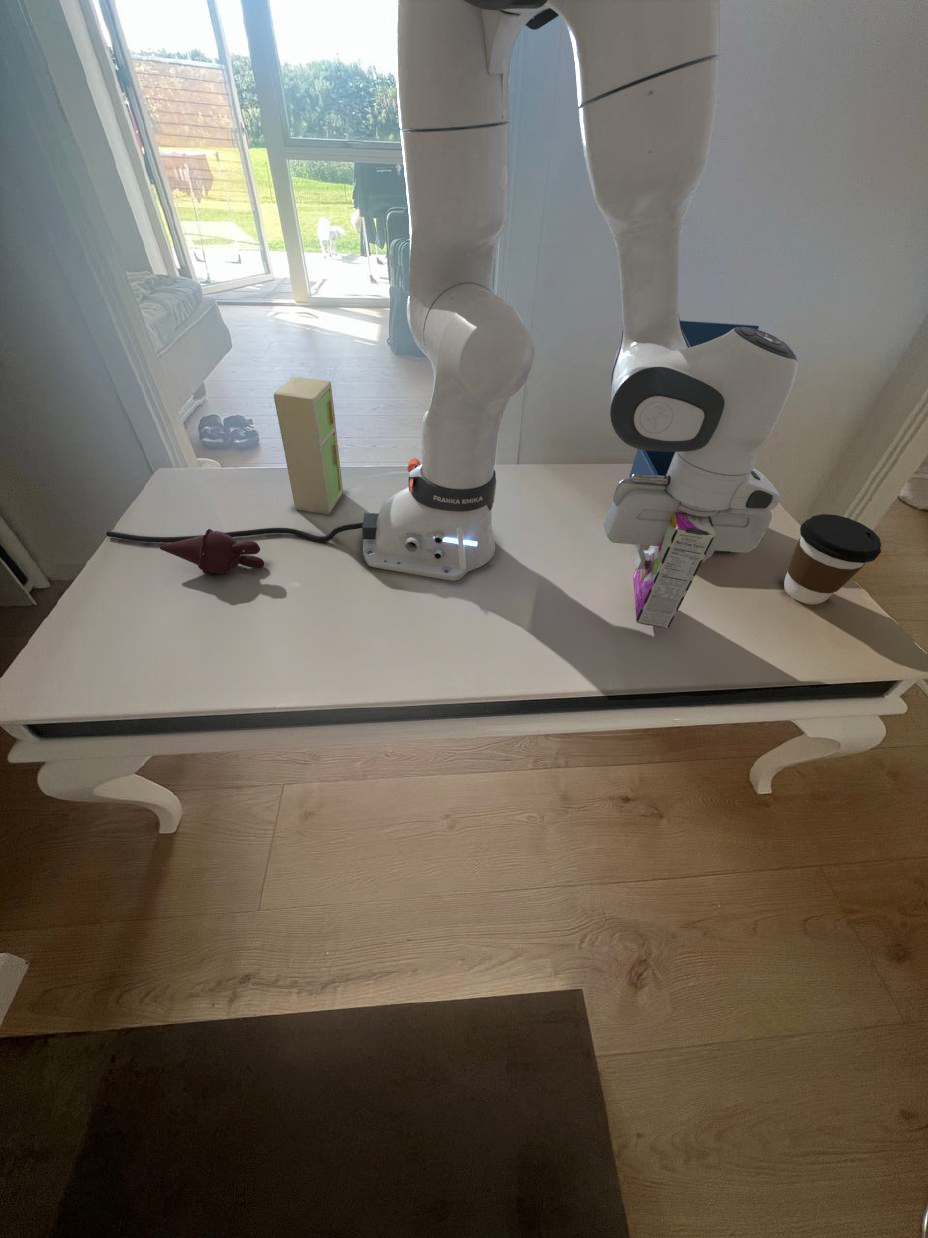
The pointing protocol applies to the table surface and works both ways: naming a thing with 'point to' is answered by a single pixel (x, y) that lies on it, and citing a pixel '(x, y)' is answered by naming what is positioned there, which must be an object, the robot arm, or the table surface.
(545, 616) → the table surface
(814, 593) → the coffee cup
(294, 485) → the toy refrigerator
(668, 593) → the candy bar box
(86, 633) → the table surface
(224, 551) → the icecream
